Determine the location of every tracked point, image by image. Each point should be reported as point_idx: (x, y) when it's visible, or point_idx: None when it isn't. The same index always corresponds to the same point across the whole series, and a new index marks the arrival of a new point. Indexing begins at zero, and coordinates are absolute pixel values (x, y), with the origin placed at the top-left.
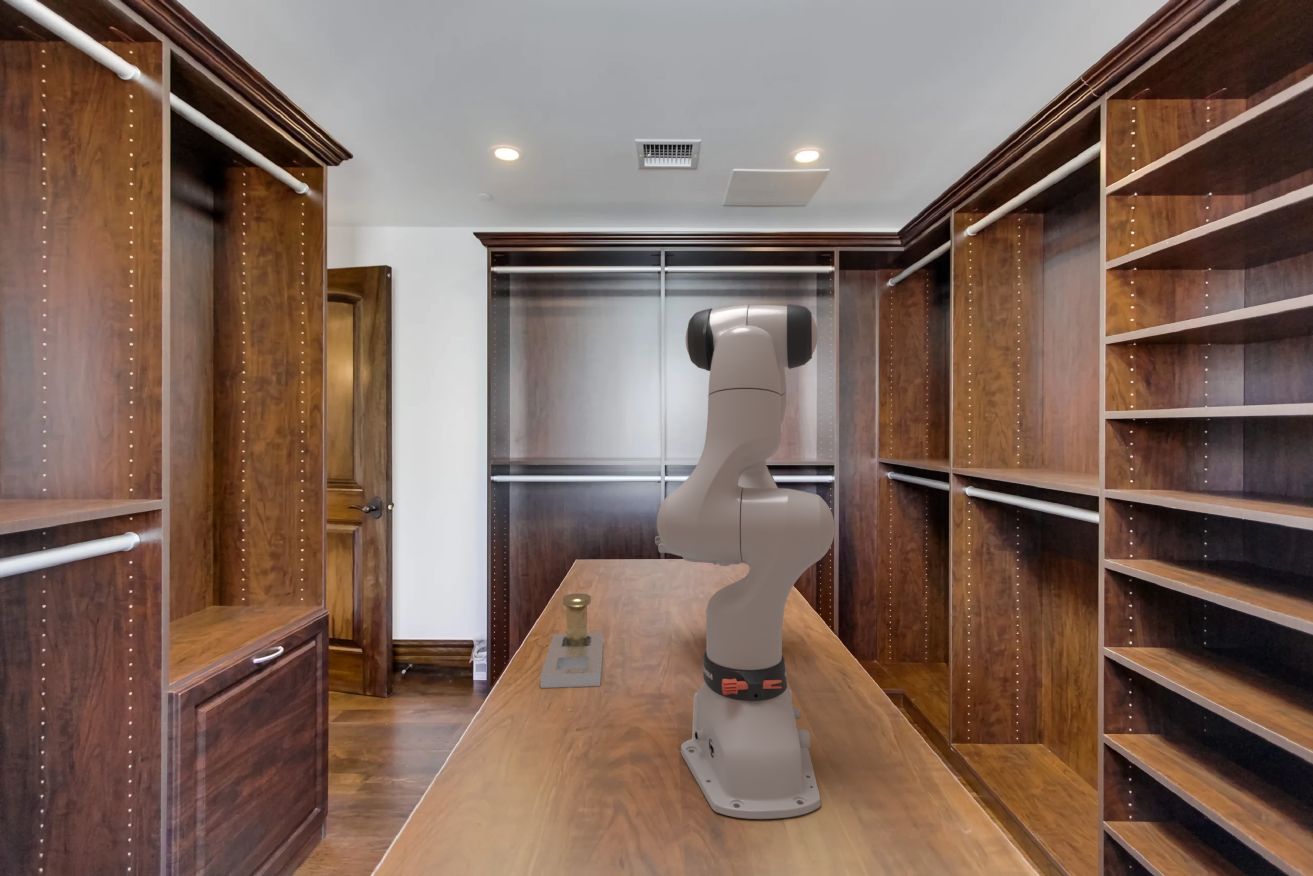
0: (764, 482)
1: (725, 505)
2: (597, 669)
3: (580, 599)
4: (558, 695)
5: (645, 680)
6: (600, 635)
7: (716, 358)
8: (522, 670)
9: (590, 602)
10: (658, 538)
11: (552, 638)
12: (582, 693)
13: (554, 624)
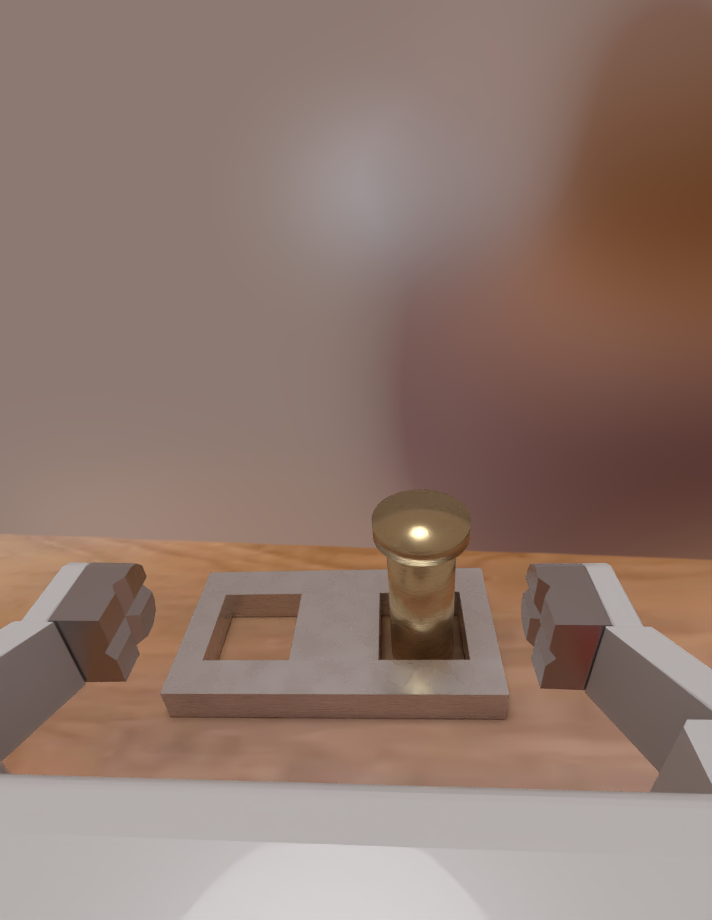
0: None
1: None
2: (186, 686)
3: (392, 527)
4: (165, 628)
5: None
6: (477, 687)
7: None
8: (322, 555)
9: (417, 564)
10: (539, 587)
11: None
12: (149, 676)
13: (656, 576)
